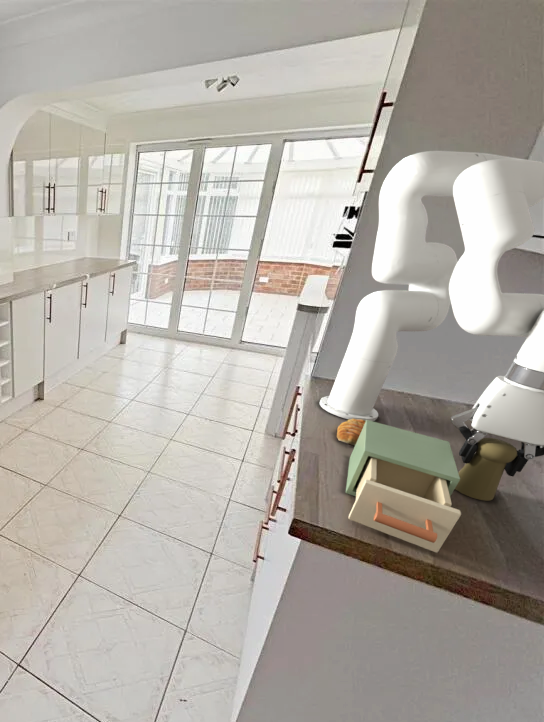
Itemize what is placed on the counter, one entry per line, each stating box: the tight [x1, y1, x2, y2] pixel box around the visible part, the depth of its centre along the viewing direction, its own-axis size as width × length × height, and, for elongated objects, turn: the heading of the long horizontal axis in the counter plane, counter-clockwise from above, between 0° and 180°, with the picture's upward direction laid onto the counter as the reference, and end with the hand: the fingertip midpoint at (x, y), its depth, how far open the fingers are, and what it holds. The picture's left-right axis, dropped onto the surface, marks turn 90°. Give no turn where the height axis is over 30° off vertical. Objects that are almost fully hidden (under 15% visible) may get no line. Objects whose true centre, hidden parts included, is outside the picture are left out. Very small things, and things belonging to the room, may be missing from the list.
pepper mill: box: [454, 437, 518, 502], centre depth 77 cm, size 6×6×11 cm
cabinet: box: [345, 420, 460, 497], centre depth 77 cm, size 15×13×10 cm
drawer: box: [348, 456, 462, 554], centre depth 68 cm, size 18×11×8 cm, turn 142°
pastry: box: [336, 419, 366, 447], centre depth 94 cm, size 9×7×4 cm
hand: (486, 465), depth 77 cm, fingers closed on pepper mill, 5 cm apart
